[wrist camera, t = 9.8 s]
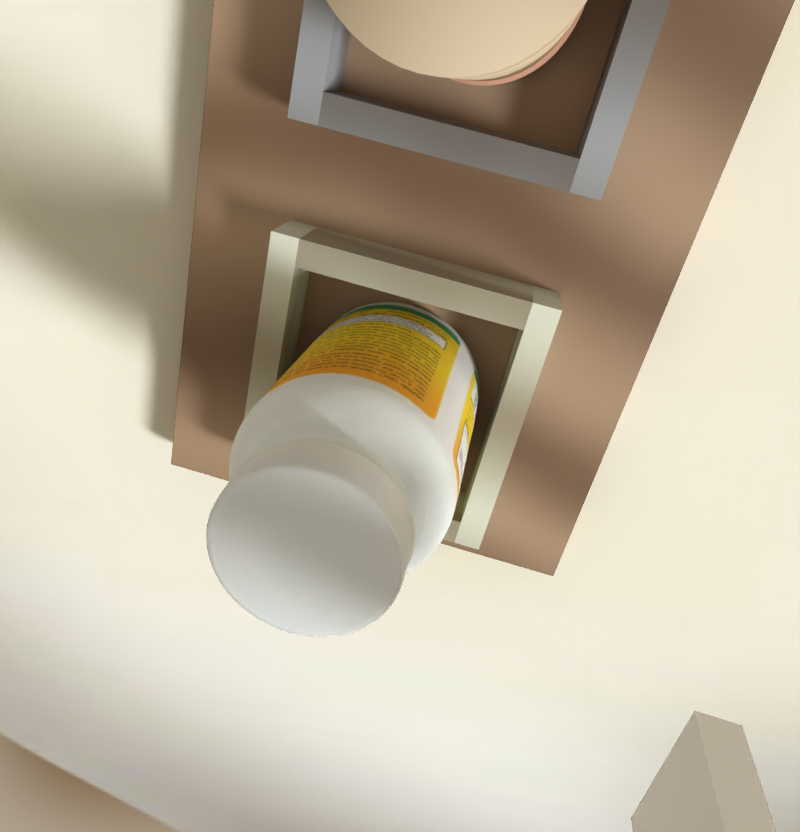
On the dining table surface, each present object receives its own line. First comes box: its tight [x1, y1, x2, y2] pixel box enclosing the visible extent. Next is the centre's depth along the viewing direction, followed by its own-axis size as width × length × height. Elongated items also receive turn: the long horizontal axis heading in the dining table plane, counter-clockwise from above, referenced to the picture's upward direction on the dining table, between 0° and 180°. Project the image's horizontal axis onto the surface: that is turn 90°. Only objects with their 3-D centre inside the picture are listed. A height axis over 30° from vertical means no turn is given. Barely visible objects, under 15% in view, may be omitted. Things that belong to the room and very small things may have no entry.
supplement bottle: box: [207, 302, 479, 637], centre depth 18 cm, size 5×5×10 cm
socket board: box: [171, 0, 795, 576], centre depth 19 cm, size 22×14×3 cm, turn 167°
